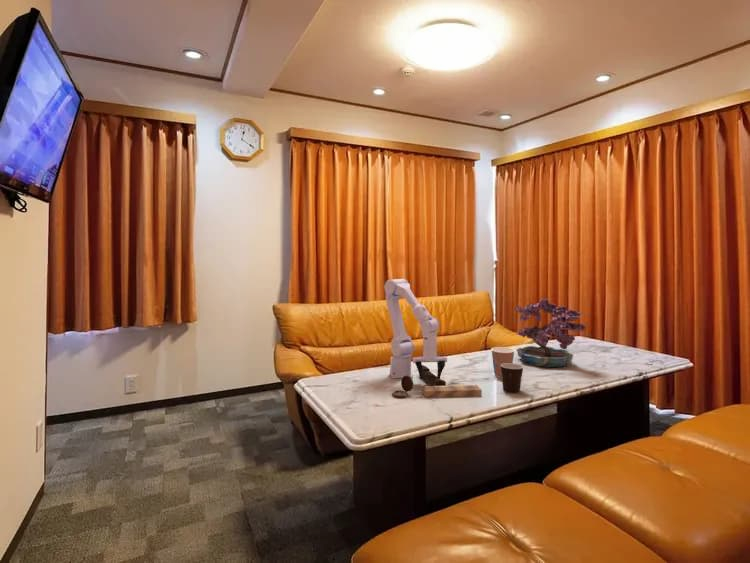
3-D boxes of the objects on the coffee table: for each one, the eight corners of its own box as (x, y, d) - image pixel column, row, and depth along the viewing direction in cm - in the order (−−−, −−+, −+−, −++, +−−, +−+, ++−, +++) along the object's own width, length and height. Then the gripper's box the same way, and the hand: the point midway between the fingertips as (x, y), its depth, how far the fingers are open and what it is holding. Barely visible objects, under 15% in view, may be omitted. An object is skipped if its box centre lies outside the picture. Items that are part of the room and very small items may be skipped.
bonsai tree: (504, 357, 219) (505, 296, 217) (547, 353, 226) (548, 295, 224) (548, 376, 185) (550, 304, 183) (597, 371, 193) (599, 302, 190)
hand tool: (446, 391, 165) (446, 378, 165) (435, 392, 164) (435, 378, 164) (427, 375, 188) (427, 363, 187) (417, 376, 187) (417, 364, 186)
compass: (388, 395, 161) (388, 377, 160) (403, 391, 166) (403, 373, 165) (402, 401, 154) (402, 382, 154) (417, 396, 159) (417, 378, 159)
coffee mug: (507, 385, 172) (507, 362, 171) (526, 390, 166) (527, 366, 165) (491, 391, 164) (492, 367, 164) (511, 397, 158) (511, 371, 157)
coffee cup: (491, 371, 193) (491, 346, 192) (514, 373, 189) (515, 347, 188) (489, 377, 183) (490, 351, 182) (514, 380, 180) (514, 352, 179)
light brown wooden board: (425, 397, 158) (425, 390, 158) (422, 392, 164) (422, 385, 164) (481, 396, 159) (481, 389, 159) (476, 391, 165) (476, 384, 165)
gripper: (414, 349, 170) (414, 382, 171) (449, 349, 171) (448, 381, 171) (411, 346, 177) (411, 377, 178) (445, 345, 178) (445, 376, 179)
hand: (429, 378), depth 175 cm, fingers open, 7 cm apart
